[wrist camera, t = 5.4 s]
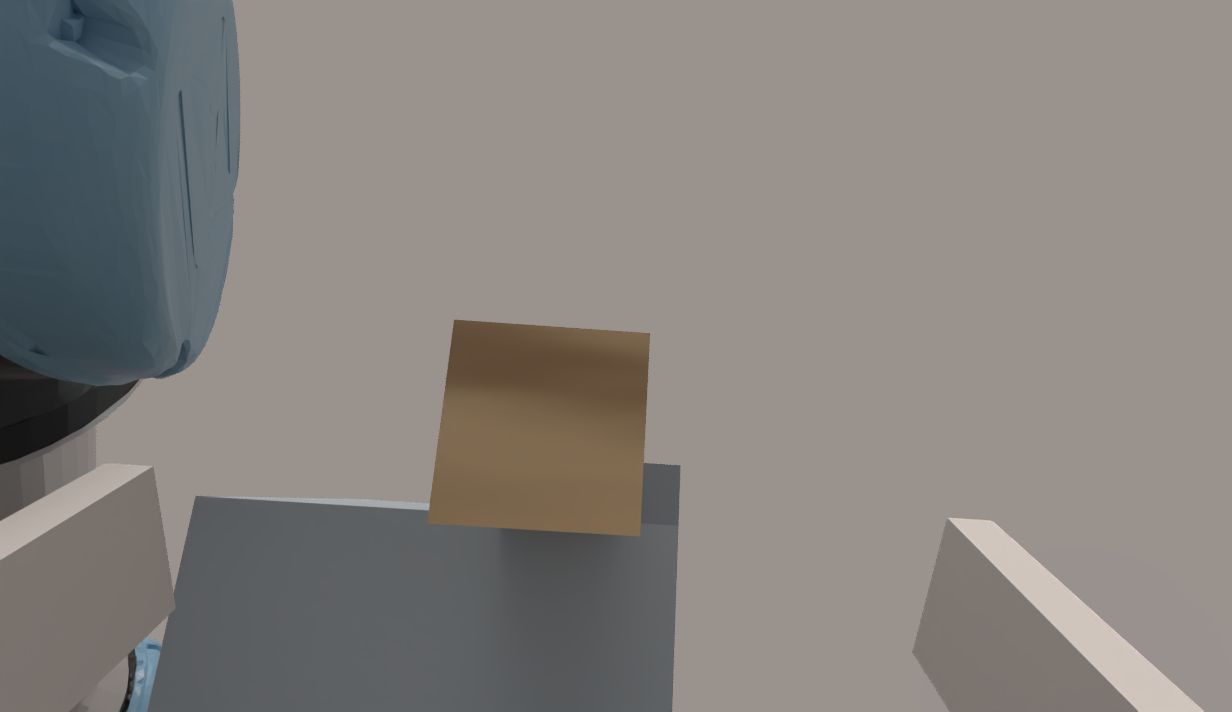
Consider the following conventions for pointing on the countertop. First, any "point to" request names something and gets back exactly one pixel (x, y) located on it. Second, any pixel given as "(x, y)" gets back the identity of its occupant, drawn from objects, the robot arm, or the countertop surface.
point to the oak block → (542, 429)
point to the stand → (418, 611)
